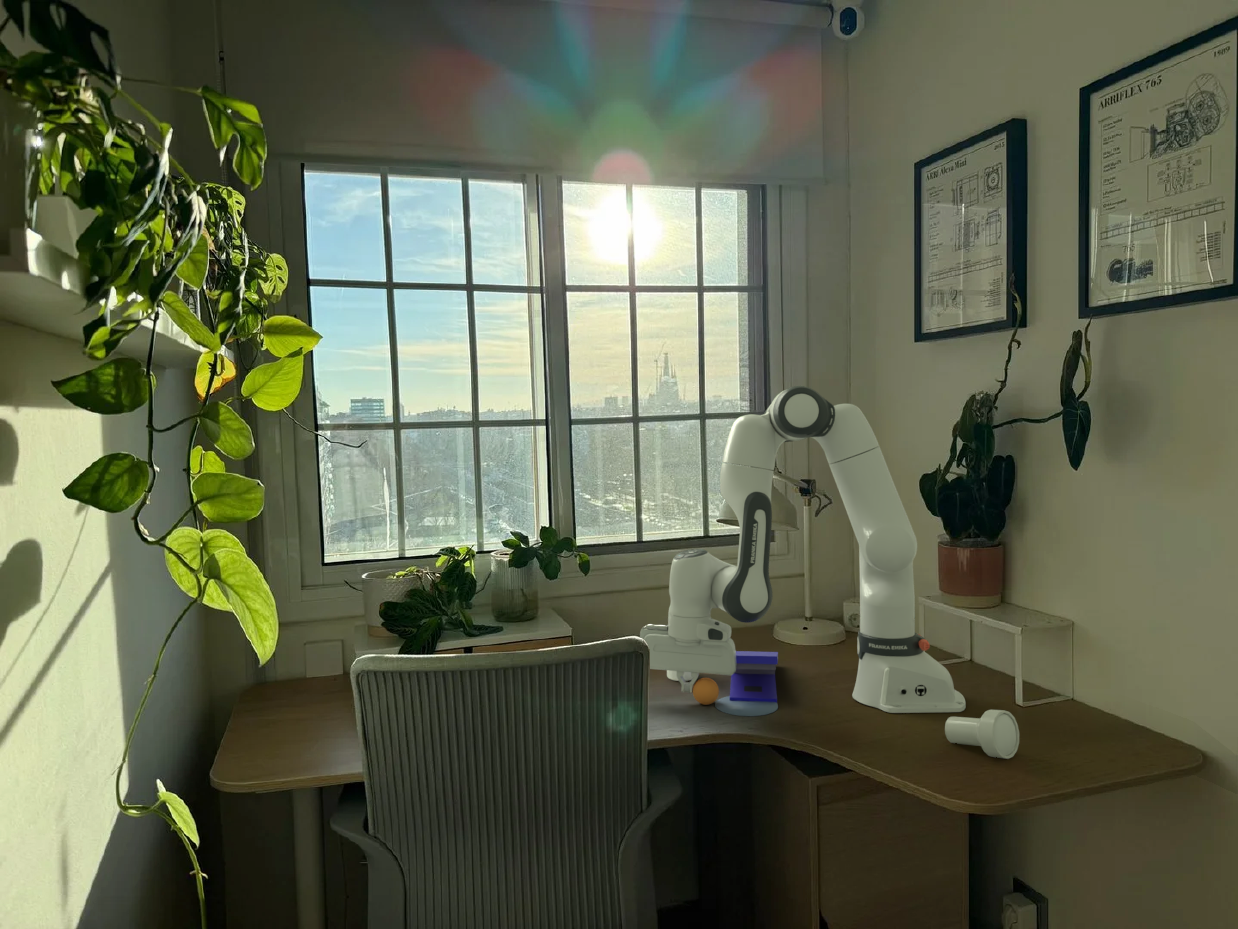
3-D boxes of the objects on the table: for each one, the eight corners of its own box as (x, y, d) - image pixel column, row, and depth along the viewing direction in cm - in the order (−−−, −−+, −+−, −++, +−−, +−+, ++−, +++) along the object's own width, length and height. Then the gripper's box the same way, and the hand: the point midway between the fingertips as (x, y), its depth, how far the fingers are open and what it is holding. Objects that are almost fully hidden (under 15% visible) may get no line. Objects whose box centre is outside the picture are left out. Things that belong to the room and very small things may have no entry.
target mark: (778, 697, 186) (778, 696, 186) (777, 718, 173) (777, 717, 173) (718, 694, 189) (718, 693, 189) (711, 714, 176) (711, 713, 176)
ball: (708, 704, 185) (725, 686, 184) (706, 714, 180) (723, 694, 179) (688, 687, 186) (705, 669, 185) (686, 696, 180) (703, 677, 180)
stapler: (726, 703, 184) (726, 657, 183) (730, 665, 212) (729, 626, 211) (781, 705, 182) (781, 658, 182) (777, 667, 210) (777, 627, 209)
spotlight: (997, 760, 147) (993, 710, 149) (939, 753, 156) (936, 707, 158) (1024, 758, 152) (1020, 710, 154) (966, 752, 161) (963, 706, 163)
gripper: (637, 626, 182) (636, 692, 182) (736, 634, 177) (734, 700, 178) (643, 620, 188) (641, 683, 188) (738, 627, 184) (736, 691, 184)
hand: (687, 691), depth 183 cm, fingers closed
